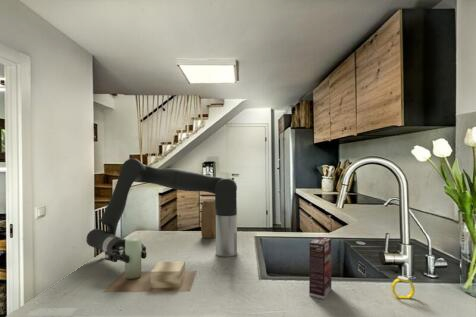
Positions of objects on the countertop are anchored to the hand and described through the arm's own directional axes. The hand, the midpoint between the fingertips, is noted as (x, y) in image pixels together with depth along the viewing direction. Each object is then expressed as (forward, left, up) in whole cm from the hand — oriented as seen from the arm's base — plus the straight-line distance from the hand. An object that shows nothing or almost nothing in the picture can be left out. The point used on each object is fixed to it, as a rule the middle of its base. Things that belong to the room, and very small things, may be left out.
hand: (136, 257), depth 94 cm
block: (-19, -60, -9) cm, 63 cm away
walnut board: (-6, +1, -8) cm, 10 cm away
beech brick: (-11, +2, -7) cm, 13 cm away
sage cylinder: (+2, -2, -7) cm, 7 cm away
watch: (-82, +12, -9) cm, 83 cm away
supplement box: (-59, +8, -9) cm, 60 cm away
